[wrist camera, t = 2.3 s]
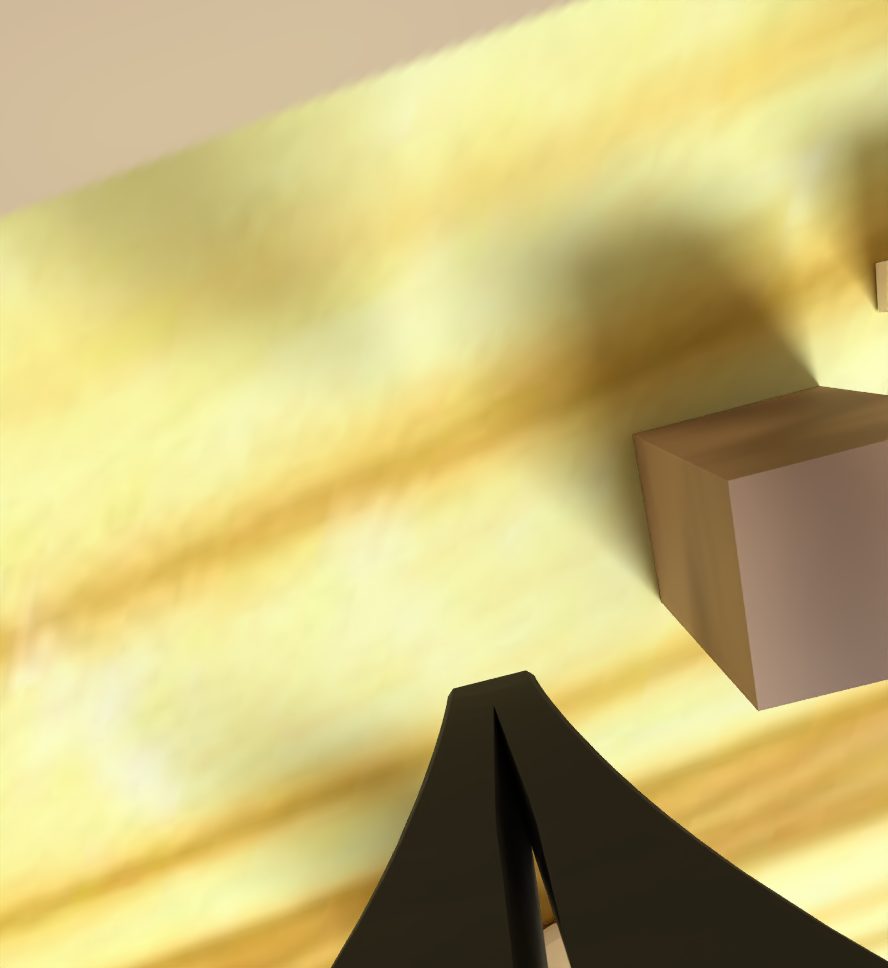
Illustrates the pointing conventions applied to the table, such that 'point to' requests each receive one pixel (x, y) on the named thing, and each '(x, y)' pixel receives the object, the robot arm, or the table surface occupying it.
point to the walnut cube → (776, 539)
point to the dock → (882, 285)
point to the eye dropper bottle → (555, 948)
